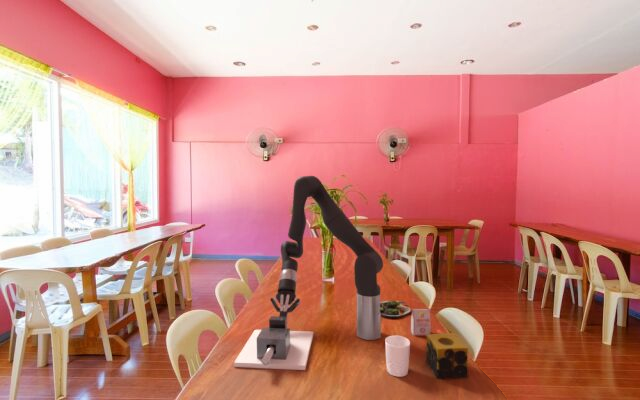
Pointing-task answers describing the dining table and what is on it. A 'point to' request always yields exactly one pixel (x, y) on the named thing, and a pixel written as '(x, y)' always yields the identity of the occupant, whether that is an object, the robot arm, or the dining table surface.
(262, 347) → the block
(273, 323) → the shaft
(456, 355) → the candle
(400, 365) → the white cup
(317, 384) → the dining table surface
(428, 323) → the white cardboard box
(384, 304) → the salad plate
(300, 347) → the base board
